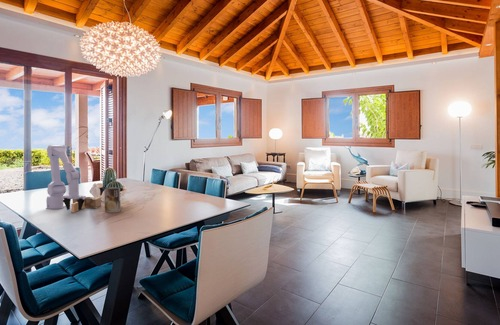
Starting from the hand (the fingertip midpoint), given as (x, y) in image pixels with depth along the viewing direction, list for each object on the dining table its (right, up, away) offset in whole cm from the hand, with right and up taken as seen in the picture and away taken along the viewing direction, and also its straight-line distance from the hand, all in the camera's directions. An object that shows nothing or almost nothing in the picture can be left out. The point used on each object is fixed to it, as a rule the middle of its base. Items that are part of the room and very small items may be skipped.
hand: (74, 209), depth 190 cm
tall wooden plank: (0, -1, +4) cm, 4 cm away
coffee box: (+24, -2, +4) cm, 24 cm away
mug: (+20, -1, +15) cm, 25 cm away
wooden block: (0, 0, +16) cm, 16 cm away
